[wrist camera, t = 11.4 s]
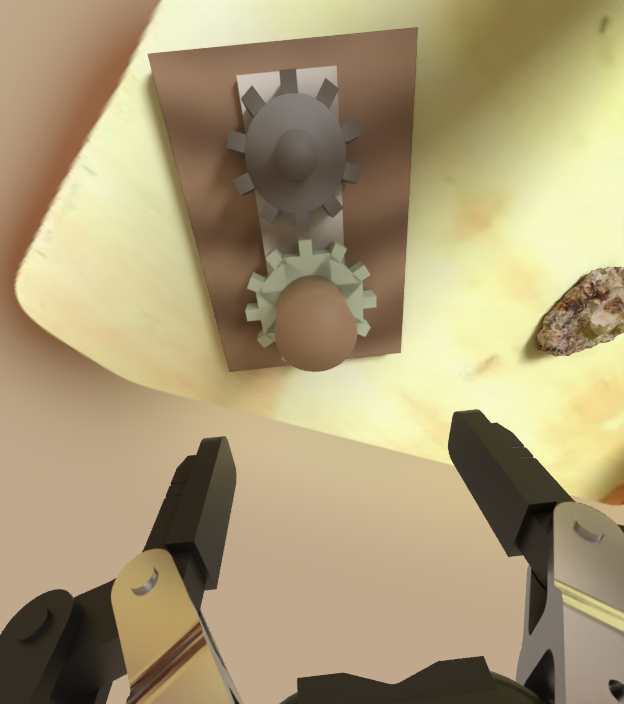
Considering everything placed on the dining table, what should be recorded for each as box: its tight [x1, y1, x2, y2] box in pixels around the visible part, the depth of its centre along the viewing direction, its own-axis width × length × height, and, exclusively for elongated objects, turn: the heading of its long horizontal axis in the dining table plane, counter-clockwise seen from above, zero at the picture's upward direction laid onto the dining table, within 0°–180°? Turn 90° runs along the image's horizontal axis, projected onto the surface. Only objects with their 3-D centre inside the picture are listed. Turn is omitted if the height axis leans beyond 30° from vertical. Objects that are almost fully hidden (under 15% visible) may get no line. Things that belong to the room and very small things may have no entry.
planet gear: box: [245, 236, 376, 372], centre depth 22 cm, size 10×10×7 cm
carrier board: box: [148, 27, 418, 372], centre depth 22 cm, size 22×16×6 cm
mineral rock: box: [536, 266, 624, 356], centre depth 29 cm, size 11×4×8 cm
